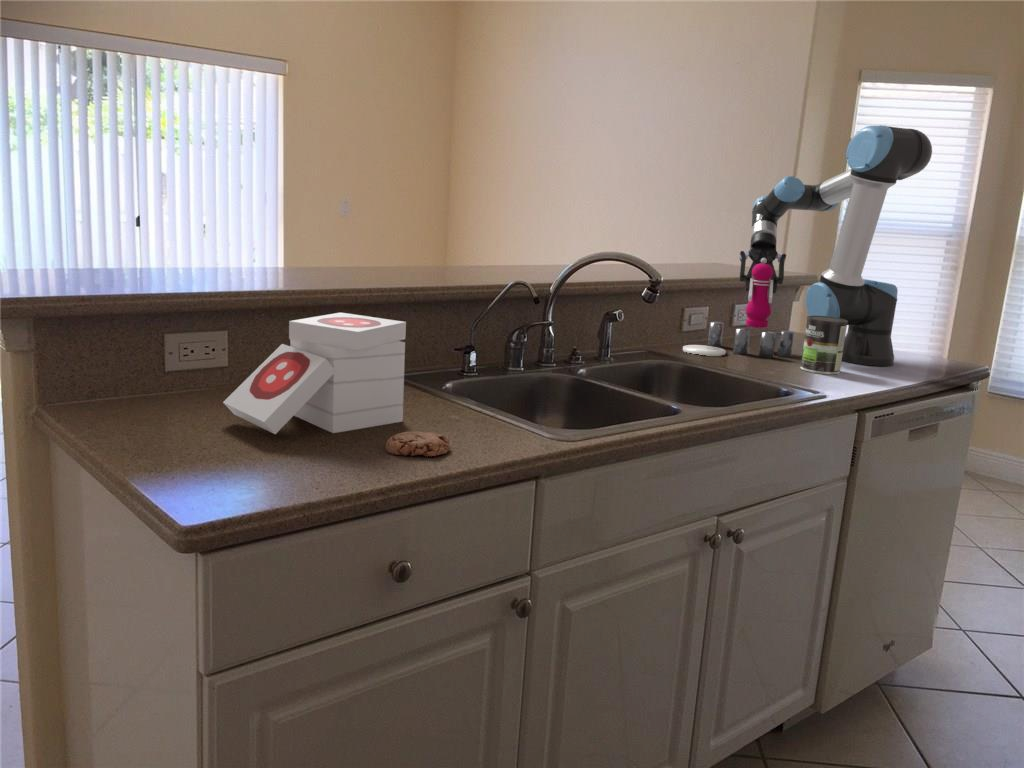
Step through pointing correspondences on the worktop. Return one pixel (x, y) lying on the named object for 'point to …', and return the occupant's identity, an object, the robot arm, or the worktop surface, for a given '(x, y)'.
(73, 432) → the worktop surface
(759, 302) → the pepper mill
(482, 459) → the worktop surface
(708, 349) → the disc
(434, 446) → the cookie
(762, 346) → the posts
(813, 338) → the coffee can
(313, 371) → the pizza boxes
